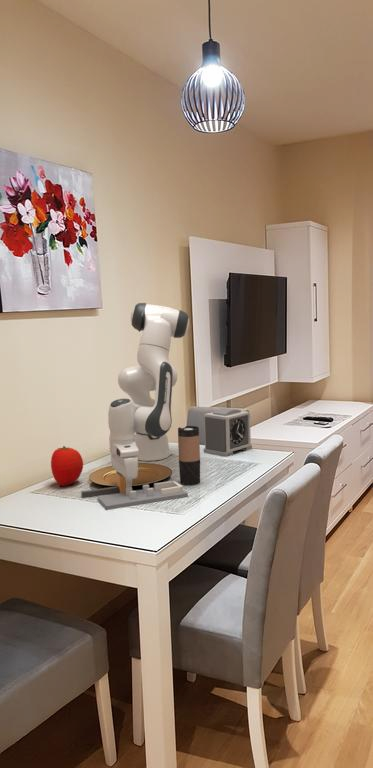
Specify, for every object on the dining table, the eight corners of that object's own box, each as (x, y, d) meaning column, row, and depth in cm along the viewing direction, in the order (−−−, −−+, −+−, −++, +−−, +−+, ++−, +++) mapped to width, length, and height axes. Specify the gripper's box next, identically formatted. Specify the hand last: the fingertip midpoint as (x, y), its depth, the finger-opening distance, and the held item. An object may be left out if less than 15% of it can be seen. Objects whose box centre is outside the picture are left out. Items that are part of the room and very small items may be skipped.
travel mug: (198, 486, 220) (197, 430, 217) (177, 485, 221) (175, 430, 218) (202, 479, 227) (200, 425, 224) (182, 479, 229) (180, 425, 226)
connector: (128, 488, 219) (127, 472, 219) (131, 491, 216) (130, 474, 215) (80, 495, 213) (79, 478, 212) (83, 499, 209) (82, 481, 209)
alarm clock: (226, 457, 258) (224, 413, 256) (202, 452, 267) (201, 410, 265) (253, 448, 272) (252, 407, 269) (229, 444, 281) (228, 404, 278)
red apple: (61, 478, 235) (59, 441, 233) (89, 479, 232) (87, 442, 230) (45, 488, 223) (43, 449, 221) (74, 490, 220) (72, 450, 218)
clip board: (97, 500, 208) (97, 489, 207) (175, 487, 218) (175, 477, 218) (106, 509, 198) (105, 498, 197) (187, 496, 208) (187, 486, 208)
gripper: (105, 441, 223) (107, 479, 225) (122, 453, 204) (124, 494, 206) (122, 439, 225) (124, 476, 227) (140, 451, 207) (142, 491, 209)
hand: (124, 485), depth 217 cm, fingers open, 8 cm apart
